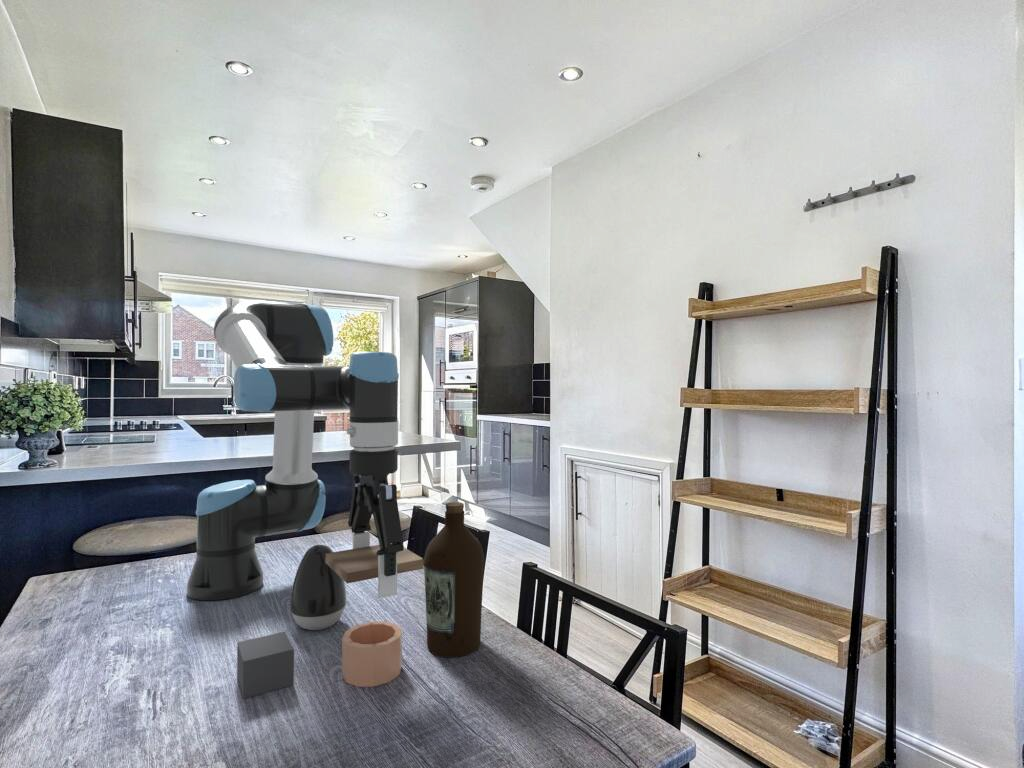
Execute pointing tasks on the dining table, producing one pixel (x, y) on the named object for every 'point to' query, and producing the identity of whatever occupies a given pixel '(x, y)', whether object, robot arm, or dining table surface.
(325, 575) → the pump dispenser
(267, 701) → the dining table surface
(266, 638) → the block
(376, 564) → the lid
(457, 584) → the olive oil
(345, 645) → the bowl
